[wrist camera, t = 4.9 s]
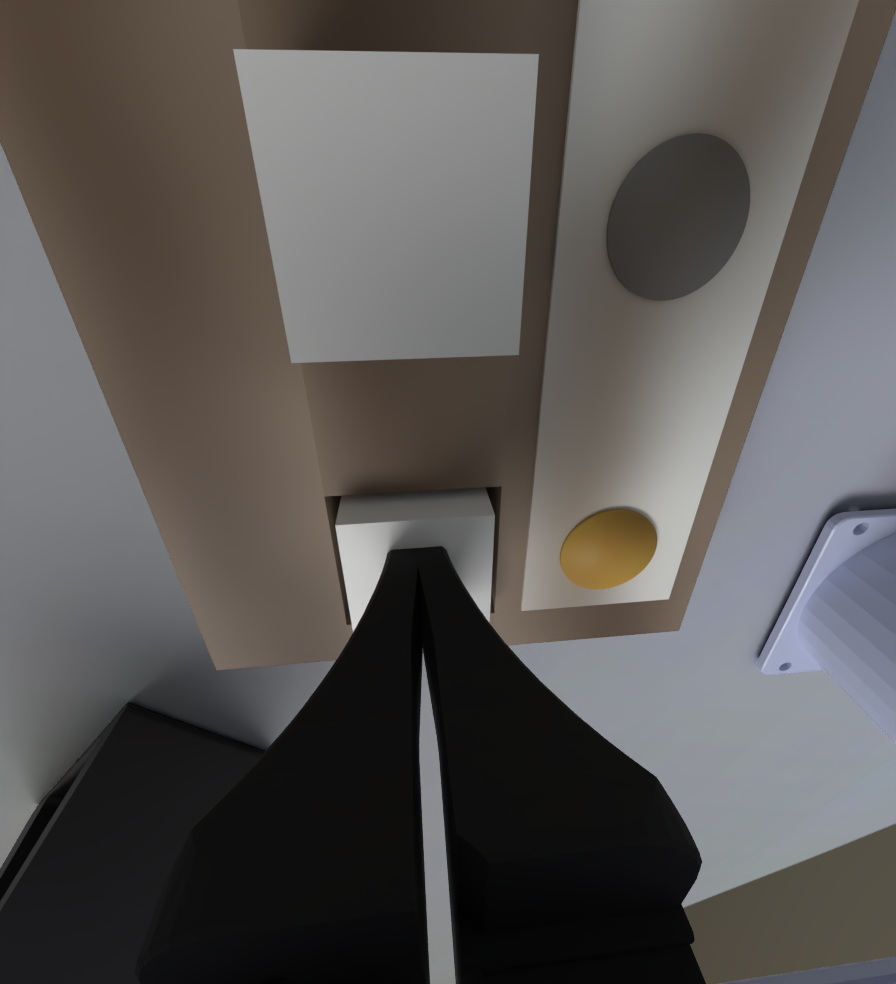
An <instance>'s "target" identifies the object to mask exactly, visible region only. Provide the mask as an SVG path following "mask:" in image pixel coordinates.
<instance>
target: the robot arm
mask: <svg viewBox="0 0 896 984" xmlns="http://www.w3.org/2000/svg"><path fill="white" fill-rule="evenodd" d="M422 645H423V646H422ZM422 651H423V653H424V659H425V666H426V672H427V678H428V685H429V691H430V697H431V703H432V709H433V716H434V722H435V728H436V734H437V742H438V750H439V760H440V773H441V786H442V800H443V813H444V827H445V840H446V854H447V867H448V881H449V895H450V909H451V922H452V936H453V950H454V964H455V978H456V984H706V983H705V981H704V978H703V976H702V973H701V971H700V968H699V966H698V963H697V961H696V958H695V956H694V953H693V951H692V949H691V946H690V944H692V943H693V942H694V935H693V931H692V928H691V926H690V924H689V921H688V919H687V916H686V914H685V912H684V909H683V907H682V904H681V903H682V902H683V900H684V899H685V897H686V895H687V894H688V892H689V890H690V889H691V887H692V886H693V884H694V882H695V881H696V879H697V876H698V873H699V870H700V867H701V864H702V860H701V857H700V853H699V851H698V848H697V846H696V844H695V842H694V840H693V838H692V836H691V834H690V832H689V830H688V828H687V826H686V824H685V822H684V820H683V819H682V817H681V815H680V814H679V812H678V810H677V809H676V807H675V805H674V804H673V802H672V801H671V799H670V797H669V796H668V794H667V793H666V791H665V789H664V788H663V786H662V785H661V783H660V782H659V780H658V779H657V777H656V776H654V775H653V774H651V773H650V772H649V771H647V770H646V769H645V768H643V767H642V766H641V765H639V764H638V763H636V762H635V761H634V760H632V759H631V758H630V757H628V756H627V755H626V754H624V753H623V752H622V751H620V750H619V749H618V748H617V747H615V746H614V745H613V744H611V743H610V742H609V741H608V740H606V739H605V738H604V737H603V736H601V735H600V734H599V733H598V732H597V731H595V730H594V729H593V728H592V727H591V726H589V725H588V724H587V723H586V722H584V721H583V720H582V719H581V718H580V717H578V716H577V715H576V714H575V713H574V712H573V711H572V710H571V709H570V708H569V707H568V706H567V705H565V704H564V703H563V702H562V701H561V700H560V699H559V698H558V697H557V696H556V695H555V694H554V693H552V692H551V691H550V690H549V689H548V688H547V687H546V686H545V685H544V684H543V683H542V682H541V681H540V680H539V679H538V678H537V677H536V676H535V675H534V674H533V673H532V672H531V671H530V670H529V669H528V668H527V667H526V666H525V665H524V664H523V662H522V661H521V660H520V659H519V658H518V657H517V656H516V655H515V654H514V652H513V651H512V650H511V649H510V648H509V647H508V645H507V644H506V643H505V642H504V641H503V639H502V638H501V637H500V636H499V634H498V633H497V632H496V631H495V629H494V628H493V627H492V625H491V624H490V623H489V621H488V620H487V619H486V617H485V616H484V615H483V613H482V612H481V610H480V609H479V608H478V606H477V604H476V603H475V601H474V600H473V598H472V597H471V595H470V594H469V592H468V591H467V589H466V588H465V586H464V584H463V583H462V581H461V579H460V577H459V575H458V574H457V572H456V570H455V568H454V566H453V564H452V562H451V560H450V557H449V555H448V553H447V550H446V549H445V548H444V547H442V546H437V547H423V548H409V549H394V550H391V551H389V552H388V553H387V556H386V560H385V564H384V567H383V570H382V573H381V575H380V578H379V580H378V583H377V585H376V588H375V590H374V592H373V594H372V596H371V599H370V601H369V603H368V605H367V607H366V609H365V611H364V613H363V615H362V617H361V619H360V621H359V623H358V624H357V626H356V628H355V630H354V632H353V633H352V635H351V637H350V639H349V641H348V642H347V644H346V646H345V647H344V649H343V650H342V652H341V654H340V655H339V657H338V658H337V660H336V662H335V663H334V665H333V666H332V668H331V669H330V671H329V672H328V673H327V675H326V676H325V678H324V679H323V681H322V682H321V683H320V685H319V686H318V688H317V689H316V690H315V692H314V693H313V694H312V696H311V697H310V698H309V700H308V701H307V702H306V704H305V705H304V706H303V708H302V709H301V710H300V711H299V713H298V714H297V715H296V716H295V718H294V719H293V720H292V721H291V723H290V724H289V725H288V726H287V727H286V728H285V730H284V731H283V732H282V733H281V734H280V735H279V737H278V738H277V739H276V740H275V741H274V742H273V743H272V745H271V746H270V747H269V748H268V749H267V750H266V751H265V753H264V754H263V755H262V756H261V757H260V758H259V759H258V761H257V762H256V763H255V764H254V765H253V766H252V767H251V768H250V769H249V770H248V772H247V773H246V774H245V775H244V776H243V777H242V778H241V779H240V780H239V781H238V782H237V783H236V784H235V785H234V786H233V787H232V788H231V789H230V790H229V791H228V792H227V793H226V794H225V795H224V796H223V797H222V798H221V799H220V800H219V801H218V802H217V803H216V804H215V805H214V806H213V807H212V808H211V809H210V810H209V811H208V812H207V813H206V814H205V815H204V816H203V817H202V818H201V819H200V820H199V821H198V822H197V823H196V824H195V825H194V826H193V827H192V828H191V830H190V831H189V833H188V835H187V837H186V839H185V841H184V843H183V845H182V847H181V849H180V851H179V854H178V856H177V858H176V860H175V862H174V864H173V867H172V869H171V871H170V873H169V875H168V877H167V879H166V882H165V884H164V886H163V888H162V891H161V894H160V896H159V899H158V902H157V904H156V907H155V910H154V913H153V916H152V919H151V922H150V924H149V927H148V930H147V933H146V936H145V939H144V942H143V945H142V947H141V950H140V953H139V956H138V959H137V962H136V968H135V974H136V976H137V978H138V980H139V982H140V984H430V975H429V954H428V934H427V913H426V893H425V872H424V850H423V829H422V808H421V786H420V764H419V731H420V705H421V679H422ZM756 665H757V667H758V668H759V670H760V671H761V672H762V673H763V674H765V675H775V674H785V673H795V672H806V671H816V670H824V671H825V672H826V673H827V674H828V675H829V676H830V677H831V678H832V679H833V680H834V681H835V682H836V684H837V685H838V686H839V687H840V688H841V689H842V690H843V691H844V692H845V693H846V694H847V695H848V696H849V697H850V698H851V699H852V700H853V701H854V702H855V703H856V704H857V705H858V706H859V707H860V708H861V710H862V711H863V712H864V713H865V714H866V715H867V716H868V717H869V718H870V719H871V720H872V721H873V722H874V723H875V724H876V725H877V726H878V727H879V728H880V729H881V730H882V731H883V732H884V733H885V735H886V736H887V737H888V738H889V739H890V740H891V741H892V742H893V743H894V744H895V745H896V509H882V510H867V511H852V512H843V513H838V514H836V515H834V516H832V517H831V518H830V519H829V520H828V521H827V522H826V524H825V526H824V528H823V530H822V532H821V534H820V536H819V538H818V540H817V542H816V544H815V546H814V548H813V550H812V552H811V554H810V556H809V558H808V560H807V562H806V564H805V566H804V568H803V570H802V572H801V574H800V576H799V578H798V580H797V582H796V584H795V586H794V588H793V590H792V592H791V594H790V596H789V598H788V600H787V602H786V604H785V606H784V608H783V610H782V612H781V614H780V616H779V618H778V620H777V622H776V624H775V626H774V628H773V630H772V632H771V634H770V636H769V638H768V640H767V642H766V644H765V646H764V648H763V650H762V652H761V654H760V656H759V658H758V660H757V664H756ZM717 984H896V957H889V958H883V959H876V960H869V961H863V962H857V963H849V964H843V965H836V966H830V967H824V968H816V969H810V970H803V971H797V972H790V973H783V974H777V975H770V976H763V977H757V978H750V979H744V980H737V981H730V982H723V983H717Z"/></svg>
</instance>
